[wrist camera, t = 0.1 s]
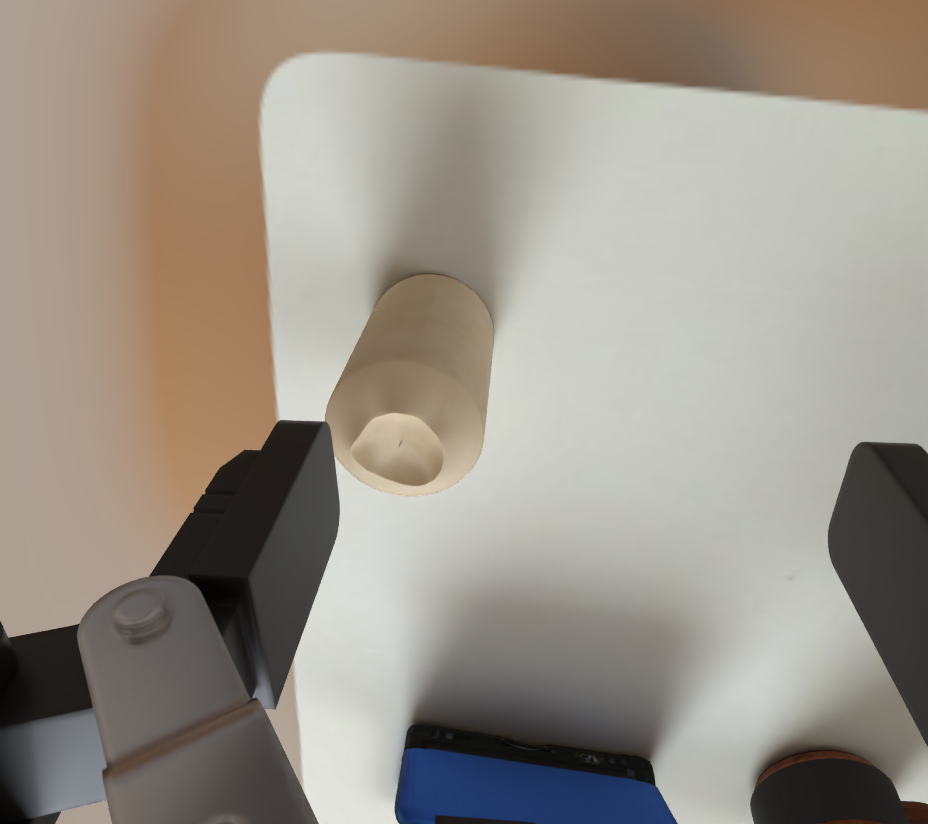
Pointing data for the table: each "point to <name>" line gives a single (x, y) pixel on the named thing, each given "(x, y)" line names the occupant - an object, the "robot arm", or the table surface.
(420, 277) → the candle
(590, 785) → the game console
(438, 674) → the table surface
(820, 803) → the mug
